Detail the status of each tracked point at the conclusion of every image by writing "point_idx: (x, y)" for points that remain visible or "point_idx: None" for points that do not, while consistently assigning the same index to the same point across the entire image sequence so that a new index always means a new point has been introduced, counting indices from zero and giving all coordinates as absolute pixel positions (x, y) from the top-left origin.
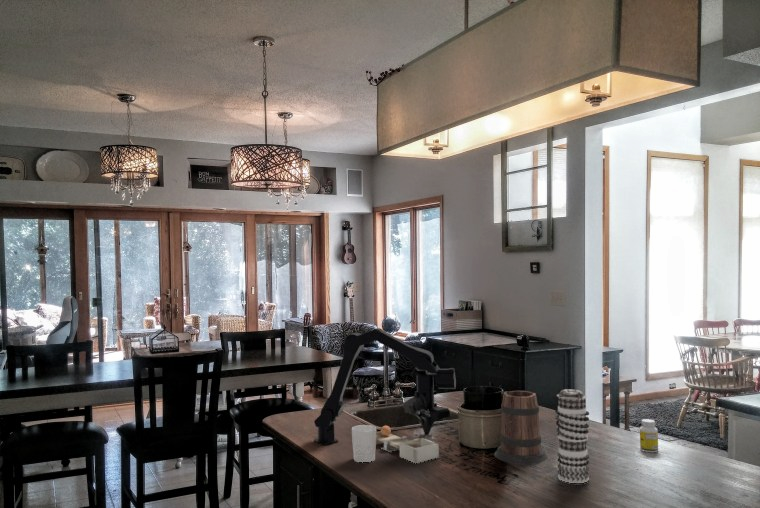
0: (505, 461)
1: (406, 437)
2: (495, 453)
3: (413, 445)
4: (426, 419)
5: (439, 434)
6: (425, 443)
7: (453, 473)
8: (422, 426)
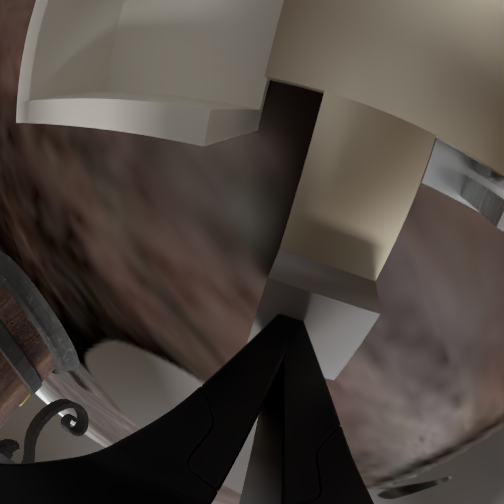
0: (3, 253)
1: (500, 213)
2: (41, 302)
3: (279, 20)
4: (53, 466)
5: (352, 436)
6: (145, 97)
7: (3, 40)
8: (322, 402)
